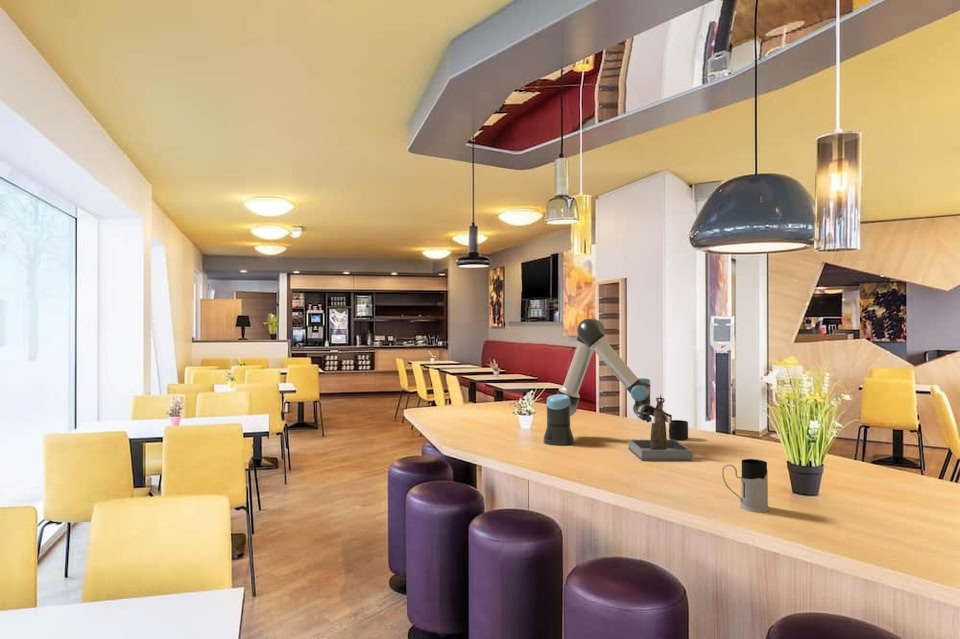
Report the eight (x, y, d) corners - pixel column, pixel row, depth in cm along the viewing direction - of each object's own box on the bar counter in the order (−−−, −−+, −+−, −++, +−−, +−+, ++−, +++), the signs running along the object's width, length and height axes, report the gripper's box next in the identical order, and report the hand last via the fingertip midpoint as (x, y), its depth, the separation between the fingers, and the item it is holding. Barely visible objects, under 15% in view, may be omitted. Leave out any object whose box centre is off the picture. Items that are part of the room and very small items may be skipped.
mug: (661, 439, 312) (661, 421, 312) (677, 436, 319) (676, 419, 319) (676, 441, 304) (676, 424, 305) (692, 439, 311) (691, 421, 311)
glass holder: (773, 512, 190) (772, 465, 190) (725, 510, 193) (725, 463, 193) (764, 504, 199) (764, 459, 199) (719, 502, 201) (719, 457, 201)
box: (641, 460, 263) (641, 450, 263) (628, 449, 287) (628, 439, 287) (692, 460, 263) (692, 450, 263) (674, 449, 287) (674, 439, 287)
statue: (668, 451, 270) (665, 395, 270) (650, 451, 271) (647, 395, 272) (666, 447, 278) (663, 393, 279) (649, 447, 280) (646, 393, 281)
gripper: (667, 420, 293) (683, 428, 270) (628, 420, 293) (640, 428, 270) (667, 404, 293) (683, 411, 270) (628, 405, 293) (640, 411, 270)
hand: (662, 420), depth 270 cm, fingers closed on statue, 6 cm apart
